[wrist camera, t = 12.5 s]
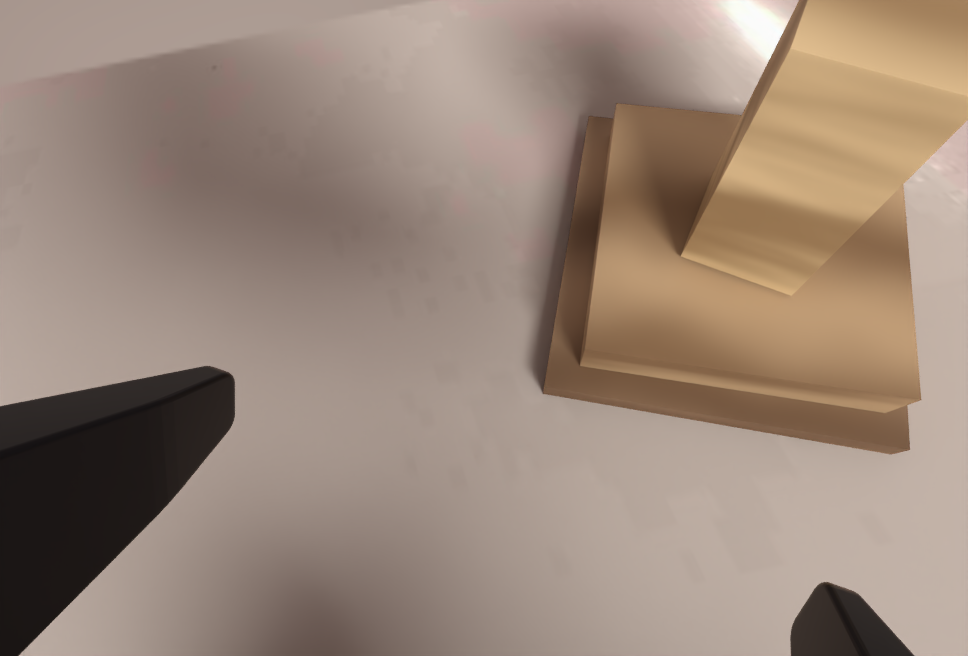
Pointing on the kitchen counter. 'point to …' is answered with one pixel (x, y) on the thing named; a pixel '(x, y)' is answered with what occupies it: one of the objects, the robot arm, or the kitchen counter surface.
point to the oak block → (832, 134)
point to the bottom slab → (677, 396)
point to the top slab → (738, 285)
